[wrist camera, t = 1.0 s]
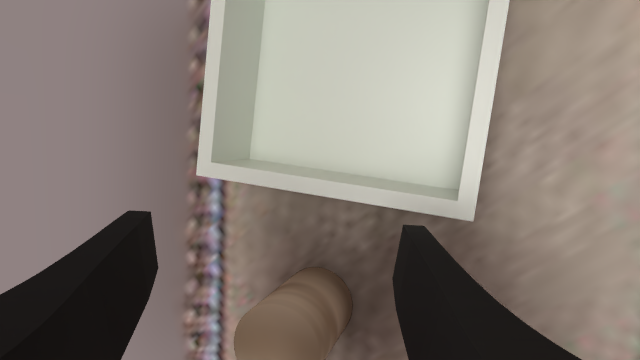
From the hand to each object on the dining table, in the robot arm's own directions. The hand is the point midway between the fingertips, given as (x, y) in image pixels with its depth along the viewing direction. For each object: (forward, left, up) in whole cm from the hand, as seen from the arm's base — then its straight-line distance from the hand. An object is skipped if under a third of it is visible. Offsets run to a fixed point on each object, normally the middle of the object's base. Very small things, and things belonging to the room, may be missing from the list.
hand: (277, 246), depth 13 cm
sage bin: (+7, +1, -12) cm, 13 cm away
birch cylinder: (-6, +2, -12) cm, 13 cm away
